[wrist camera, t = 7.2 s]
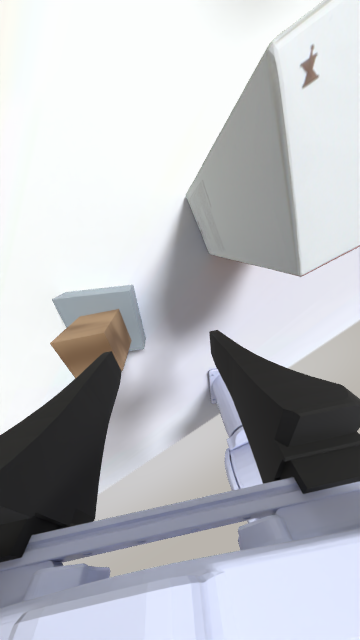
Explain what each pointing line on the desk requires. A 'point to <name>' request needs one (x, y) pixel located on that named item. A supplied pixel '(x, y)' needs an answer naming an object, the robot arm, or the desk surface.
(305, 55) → the small box
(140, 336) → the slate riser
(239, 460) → the robot arm
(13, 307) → the desk surface
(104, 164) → the desk surface
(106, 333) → the walnut block
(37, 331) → the desk surface
